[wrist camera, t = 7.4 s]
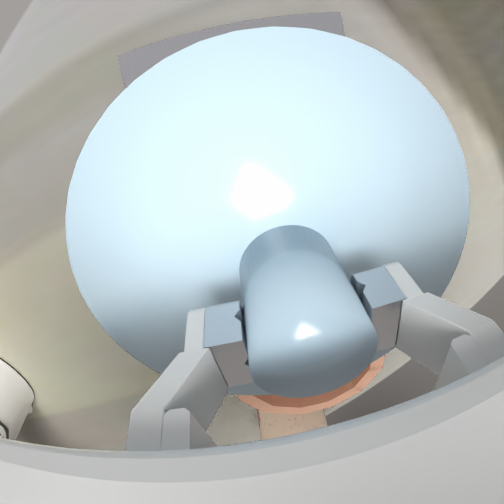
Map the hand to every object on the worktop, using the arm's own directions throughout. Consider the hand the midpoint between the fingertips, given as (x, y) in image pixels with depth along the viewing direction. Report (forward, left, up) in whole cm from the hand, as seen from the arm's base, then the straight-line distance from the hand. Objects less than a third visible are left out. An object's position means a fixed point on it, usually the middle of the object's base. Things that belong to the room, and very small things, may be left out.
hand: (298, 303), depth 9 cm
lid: (0, 0, -3) cm, 3 cm away
